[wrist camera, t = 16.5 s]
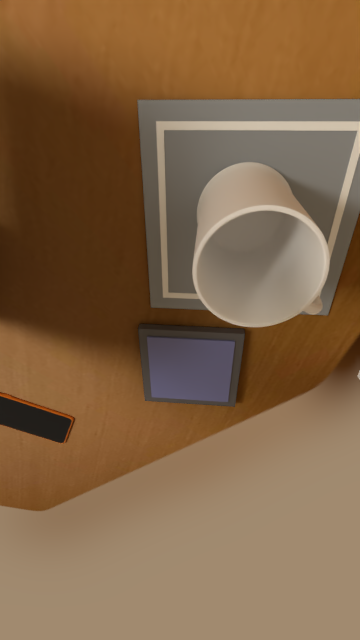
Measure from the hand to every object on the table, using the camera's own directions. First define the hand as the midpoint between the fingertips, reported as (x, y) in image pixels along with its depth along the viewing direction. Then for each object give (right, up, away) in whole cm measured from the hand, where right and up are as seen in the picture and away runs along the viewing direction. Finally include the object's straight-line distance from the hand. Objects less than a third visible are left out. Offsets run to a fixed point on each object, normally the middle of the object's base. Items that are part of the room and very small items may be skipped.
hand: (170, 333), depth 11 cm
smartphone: (-24, -13, +39) cm, 48 cm away
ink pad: (+2, -5, +30) cm, 31 cm away
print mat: (+7, +9, +19) cm, 23 cm away
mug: (+7, +9, +19) cm, 23 cm away
